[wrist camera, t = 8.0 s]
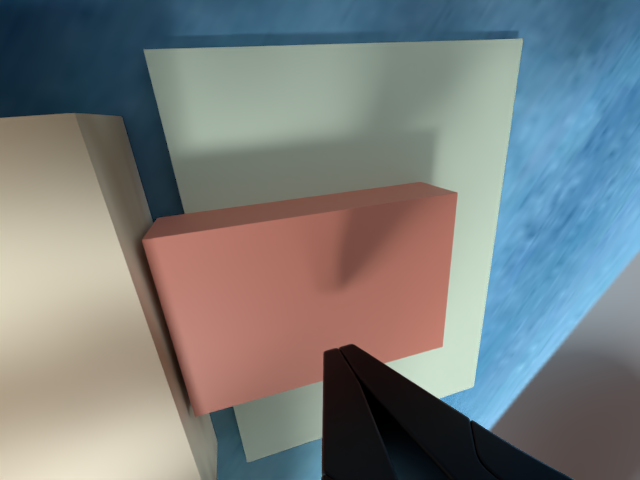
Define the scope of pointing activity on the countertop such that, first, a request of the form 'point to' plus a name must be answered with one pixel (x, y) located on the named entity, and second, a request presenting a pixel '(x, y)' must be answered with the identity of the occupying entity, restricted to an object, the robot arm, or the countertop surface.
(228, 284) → the salmon pink brick
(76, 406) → the board
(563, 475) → the robot arm
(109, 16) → the countertop surface
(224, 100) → the mat
